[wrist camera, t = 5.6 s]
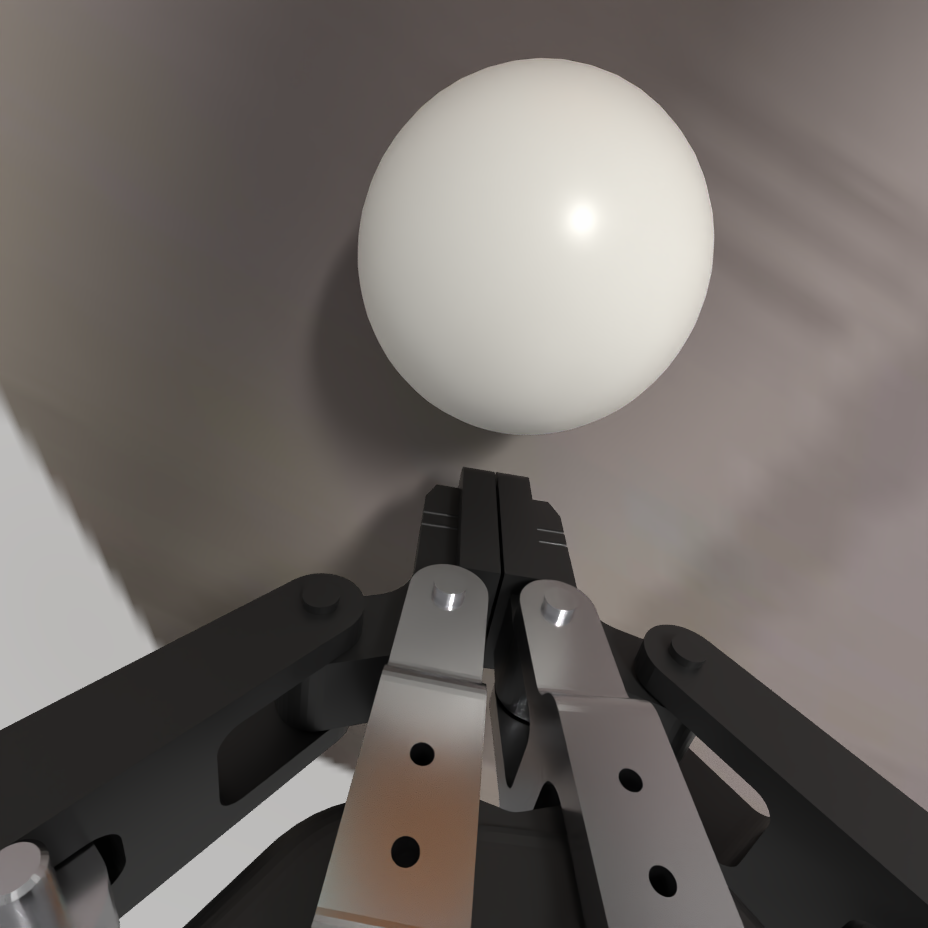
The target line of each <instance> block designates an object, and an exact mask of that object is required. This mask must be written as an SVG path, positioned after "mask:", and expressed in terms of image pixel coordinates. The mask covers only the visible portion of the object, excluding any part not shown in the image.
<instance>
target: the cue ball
mask: <svg viewBox="0 0 928 928" xmlns="http://www.w3.org/2000/svg"><path fill="white" fill-rule="evenodd" d="M713 251H714V224H713V211H712V207H711V202H710V198H709V193H708V189H707V185H706V181H705V177H704V175H703V172H702V170H701V167H700V165H699V162H698V160H697V157H696V155H695V153H694V151H693V150H692V148H691V146H690V145H689V143H688V141H687V140H686V138H685V136H684V135H683V133H682V131H681V130H680V129H679V127H678V126H677V125H676V123H675V122H674V121H673V120H672V119H671V118H670V116H669V115H668V114H667V113H666V112H665V110H664V109H663V108H662V107H661V106H660V105H659V104H658V103H657V102H656V101H654V100H653V99H652V98H651V97H650V96H648V95H647V94H646V93H645V92H644V91H643V90H641V89H640V88H638V87H637V86H635V85H633V84H632V83H630V82H628V81H627V80H625V79H623V78H622V77H620V76H618V75H616V74H613V73H611V72H608V71H606V70H603V69H601V68H598V67H595V66H593V65H589V64H584V63H580V62H575V61H571V60H566V59H550V58H534V59H524V60H514V61H510V62H506V63H502V64H498V65H495V66H491V67H487V68H485V69H482V70H480V71H478V72H475V73H473V74H471V75H468V76H466V77H464V78H461V79H460V80H458V81H456V82H455V83H453V84H452V85H450V86H448V87H447V88H445V89H443V90H442V91H440V92H439V93H437V94H436V95H435V96H434V97H433V98H432V99H430V100H429V101H428V102H427V103H426V104H424V105H423V106H422V107H421V108H420V109H419V110H418V111H417V112H416V113H415V114H414V115H413V116H412V118H411V119H410V120H409V121H408V122H407V123H406V124H405V125H404V127H403V128H402V129H401V130H400V131H399V133H398V134H397V135H396V137H395V138H394V140H393V141H392V143H391V144H390V146H389V147H388V149H387V150H386V152H385V154H384V155H383V157H382V159H381V161H380V163H379V165H378V167H377V170H376V172H375V174H374V176H373V178H372V181H371V184H370V187H369V190H368V193H367V197H366V200H365V203H364V206H363V210H362V215H361V222H360V228H359V238H358V272H359V280H360V287H361V292H362V297H363V301H364V305H365V309H366V313H367V316H368V319H369V321H370V324H371V326H372V328H373V331H374V333H375V335H376V337H377V339H378V342H379V344H380V345H381V347H382V349H383V351H384V352H385V354H386V356H387V358H388V359H389V361H390V362H391V363H392V365H393V366H394V367H395V369H396V370H397V371H398V372H399V374H400V375H401V376H402V377H403V378H404V379H405V380H406V381H407V382H408V383H409V384H410V386H411V387H412V388H413V389H414V390H415V391H416V392H417V393H419V394H420V395H421V396H422V397H423V398H425V399H426V400H427V401H428V402H429V403H431V404H433V405H434V406H436V407H437V408H439V409H440V410H442V411H443V412H445V413H447V414H449V415H451V416H453V417H455V418H457V419H459V420H461V421H463V422H466V423H468V424H471V425H473V426H476V427H479V428H482V429H486V430H489V431H494V432H499V433H505V434H515V435H542V434H552V433H558V432H563V431H568V430H571V429H575V428H578V427H582V426H584V425H587V424H590V423H592V422H594V421H597V420H599V419H602V418H604V417H606V416H608V415H610V414H612V413H614V412H616V411H618V410H619V409H621V408H622V407H624V406H625V405H627V404H628V403H630V402H631V401H633V400H634V399H635V398H637V397H638V396H639V395H640V394H641V393H642V392H644V391H645V390H646V389H647V388H648V387H649V386H651V385H652V384H653V383H654V382H655V381H656V380H657V379H658V378H659V377H660V376H661V375H662V373H663V372H664V371H665V370H666V369H667V368H668V367H669V365H670V364H671V363H672V361H673V360H674V359H675V357H676V356H677V355H678V353H679V352H680V350H681V349H682V347H683V345H684V344H685V342H686V340H687V339H688V337H689V335H690V333H691V331H692V330H693V328H694V326H695V324H696V321H697V319H698V316H699V314H700V311H701V308H702V306H703V303H704V300H705V297H706V294H707V290H708V285H709V281H710V277H711V272H712V263H713Z"/></svg>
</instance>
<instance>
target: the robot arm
mask: <svg viewBox="0 0 928 928" xmlns="http://www.w3.org/2000/svg"><path fill="white" fill-rule="evenodd" d="M563 532H564V531H563V527H562V522H561V518H560V516H559V515H558V513H557V512H556V511H555V510H554V509H553V507H552V506H551V505H550V504H549V503H548V502H544V501H537V500H532V494H531V488H530V482H529V478H528V477H523V476H517V475H511V474H504V473H498V472H497V473H496V474H495V472H491V471H485V470H479V469H473V468H466V467H463V468H462V472H461V476H460V481H459V486H458V488H455V487H448V486H442V485H436V486H435V487H434V488H433V489H432V490H431V491H430V492H429V493H428V494H427V495H426V498H425V504H424V510H423V516H422V522H421V528H420V534H419V540H418V546H417V552H416V559H415V565H414V572H413V576H412V578H411V579H410V580H409V582H408V583H406V584H405V585H404V586H403V587H401V588H399V589H397V590H395V591H392V592H389V593H386V594H380V595H371V596H363V594H362V592H361V591H360V589H359V588H358V587H357V586H356V585H355V584H354V583H352V582H351V581H349V580H347V579H345V578H343V577H340V576H337V575H332V574H322V573H321V574H310V575H306V576H302V577H299V578H297V579H295V580H292V581H291V582H289V583H287V584H285V585H283V586H281V587H279V588H277V589H275V590H273V591H271V592H269V593H267V594H265V595H263V596H261V597H259V598H257V599H255V600H253V601H252V602H250V603H248V604H246V605H244V606H242V607H240V608H238V609H236V610H234V611H232V612H230V613H228V614H226V615H224V616H222V617H220V618H218V619H216V620H214V621H212V622H211V623H209V624H207V625H205V626H203V627H201V628H199V629H197V630H195V631H193V632H191V633H189V634H187V635H185V636H183V637H181V638H179V639H177V640H175V641H173V642H171V643H170V644H168V645H166V646H164V647H162V648H160V649H158V650H156V651H154V652H152V653H150V654H148V655H146V656H144V657H142V658H140V659H138V660H136V661H135V662H132V663H131V664H129V665H127V666H125V667H123V668H121V669H119V670H117V671H115V672H113V673H111V674H109V675H107V676H105V677H103V678H102V679H100V680H97V681H95V682H94V683H92V684H90V685H88V686H86V687H84V688H82V689H80V690H78V691H76V692H74V693H72V694H70V695H68V696H66V697H64V698H62V699H60V700H58V701H56V702H54V703H52V704H51V705H49V706H47V707H45V708H43V709H41V710H39V711H37V712H35V713H33V714H31V715H29V716H27V717H25V718H23V719H21V720H20V721H17V722H15V723H14V724H12V725H10V726H8V727H6V728H4V729H2V730H0V928H120V922H119V919H120V918H121V917H122V916H123V915H124V914H126V913H127V912H128V911H129V910H131V909H132V908H133V907H134V906H135V905H137V904H138V903H139V902H140V901H142V900H143V899H144V898H145V897H146V896H148V895H149V894H150V893H151V892H153V891H154V890H155V889H156V888H158V887H159V886H160V885H161V884H163V883H164V882H165V881H166V880H167V879H169V878H170V877H171V876H172V875H173V874H175V873H176V872H177V871H178V870H179V869H181V868H182V867H183V866H184V865H186V864H187V863H188V862H189V861H191V860H192V859H193V858H194V857H196V856H197V855H198V854H199V853H201V852H202V851H203V850H204V849H205V848H207V847H208V846H209V845H210V844H212V843H213V842H214V841H215V840H216V839H218V838H219V837H220V836H221V835H223V834H224V833H225V832H226V831H227V830H229V829H230V828H231V827H232V826H234V825H235V824H236V823H237V822H239V821H240V820H241V819H242V818H243V817H245V816H246V815H247V814H248V813H250V812H251V811H252V810H253V809H254V808H256V807H257V806H258V805H259V804H261V803H262V802H263V801H264V800H266V799H267V798H268V797H269V796H270V795H272V794H273V793H274V792H275V791H276V790H278V789H279V788H280V787H282V786H283V785H284V784H285V783H286V782H288V781H289V780H290V779H291V778H293V777H294V776H295V775H296V774H297V773H299V772H300V771H301V770H302V769H304V768H305V767H306V766H307V765H308V764H310V763H311V762H312V761H313V760H315V759H316V758H317V757H318V756H320V755H321V754H322V753H323V752H324V751H326V750H327V749H328V748H329V747H331V746H332V745H333V744H334V743H336V742H337V741H338V740H339V739H340V738H341V737H342V736H343V735H344V734H345V732H346V731H347V729H348V727H349V726H351V725H357V724H362V723H368V725H367V728H366V732H365V736H364V739H363V743H362V747H361V750H360V754H359V757H358V761H357V765H356V768H355V772H354V775H353V779H352V783H351V786H350V790H349V794H348V797H347V801H346V803H343V804H340V805H336V806H333V807H330V808H328V809H326V810H323V811H321V812H318V813H316V814H314V815H312V816H310V817H309V818H307V819H305V820H304V821H302V822H300V823H298V824H296V825H295V826H294V827H292V828H291V829H290V830H288V831H287V832H286V833H284V834H283V835H282V836H280V837H279V838H278V839H277V840H276V841H274V842H273V843H272V844H271V845H270V846H269V847H268V848H267V849H266V850H265V851H263V853H261V855H259V856H258V857H257V858H256V859H255V860H254V861H253V862H252V863H251V864H250V865H249V866H248V867H247V868H245V870H243V871H242V872H241V873H240V874H239V875H238V876H237V877H236V878H235V879H234V880H233V881H232V882H231V883H230V884H229V885H228V886H227V887H226V888H225V889H223V890H222V891H221V892H220V893H219V894H218V895H217V896H216V897H215V898H214V899H213V900H212V901H211V902H209V903H208V904H207V905H206V906H205V907H204V908H203V909H202V910H201V911H200V912H199V913H198V914H197V915H196V916H195V917H194V918H193V919H191V920H190V921H189V922H188V924H186V925H185V926H184V927H183V928H928V812H927V811H926V810H924V809H923V808H922V807H920V806H919V805H918V804H917V803H915V802H914V801H913V800H911V799H910V798H909V797H908V796H906V795H905V794H904V793H902V792H901V791H900V790H899V789H897V788H896V787H895V786H893V785H892V784H891V783H890V782H888V781H887V780H886V779H884V778H883V777H882V776H881V775H879V774H878V773H877V772H876V771H874V770H873V769H872V768H870V767H869V766H868V765H867V764H865V763H864V762H863V761H861V760H860V759H859V758H858V757H856V756H855V755H854V754H852V753H851V752H850V751H849V750H847V749H846V748H845V747H843V746H842V745H841V744H840V743H838V742H837V741H836V740H834V739H833V738H832V737H831V736H829V735H828V734H827V733H825V732H824V731H823V730H822V729H820V728H819V727H818V726H816V725H815V724H814V723H813V722H811V721H810V720H809V719H808V718H806V717H805V716H804V715H802V714H801V713H800V712H799V711H797V710H796V709H795V708H793V707H792V706H791V705H790V704H788V703H787V702H786V701H784V700H783V699H782V698H781V697H779V696H778V695H777V694H775V693H774V692H773V691H772V690H770V689H769V688H768V687H766V686H765V685H764V684H763V683H761V682H760V681H759V680H757V679H756V678H755V677H754V676H752V675H751V674H750V673H748V672H747V671H746V670H745V669H743V668H742V667H741V666H739V665H738V664H737V663H736V662H734V661H733V660H732V659H731V658H729V657H728V656H727V655H725V654H724V653H723V652H722V651H720V650H719V649H718V648H716V647H715V646H714V645H713V644H711V643H710V642H709V641H707V640H706V639H705V638H703V637H702V636H700V635H698V634H697V633H695V632H693V631H690V630H688V629H685V628H683V627H679V626H675V625H659V626H655V627H653V628H651V629H650V630H649V631H648V632H647V633H646V635H645V637H644V639H641V638H638V637H636V636H633V635H631V634H628V633H625V632H623V631H620V630H618V629H615V628H613V627H611V626H609V625H607V624H605V623H604V622H602V621H601V620H600V619H599V616H598V613H597V610H596V608H595V606H594V604H593V603H592V601H591V600H590V599H589V598H588V597H587V596H586V595H585V594H584V593H583V592H581V591H580V590H578V589H577V587H576V582H575V578H574V574H573V569H572V565H571V561H570V557H569V552H568V548H567V547H566V539H565V535H563ZM483 668H490V669H494V671H495V683H494V686H493V690H492V693H491V697H490V701H489V708H490V717H491V726H492V736H493V745H494V754H495V763H496V772H497V781H498V790H499V804H500V808H499V807H497V806H494V805H491V804H489V803H486V802H484V801H481V800H480V786H481V771H482V756H483V742H484V727H485V712H486V697H487V688H486V684H484V683H482V673H483ZM695 736H697V737H698V738H699V739H700V740H702V741H703V742H704V743H705V744H706V745H707V746H708V747H709V748H710V749H711V750H712V751H713V752H715V753H716V754H717V755H718V756H719V757H720V758H721V759H722V760H723V761H724V762H725V763H727V764H728V765H729V766H730V767H731V768H732V769H733V770H734V771H735V772H736V773H737V774H739V775H740V776H741V777H742V778H743V779H744V780H745V781H746V782H747V783H748V784H749V785H751V786H752V787H753V788H754V789H755V790H756V791H757V792H758V793H759V794H760V796H761V797H762V798H763V800H764V801H765V803H766V805H767V807H768V810H769V813H770V817H767V816H764V815H762V814H760V813H758V812H757V811H755V810H754V809H753V808H752V807H751V806H750V805H749V804H748V803H747V802H745V801H744V800H743V799H742V798H741V797H740V796H739V795H738V794H737V793H736V792H735V791H734V790H733V789H732V788H731V787H730V786H729V785H727V784H726V783H725V782H724V781H723V780H722V779H721V778H720V777H719V776H718V775H717V774H716V773H715V772H714V771H713V770H712V769H710V768H709V767H708V766H707V765H706V764H705V763H704V762H703V761H702V760H701V759H700V758H699V757H698V756H697V755H696V754H695V753H694V752H692V751H691V750H690V749H689V746H690V744H691V742H692V741H693V739H694V737H695Z"/></svg>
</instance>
